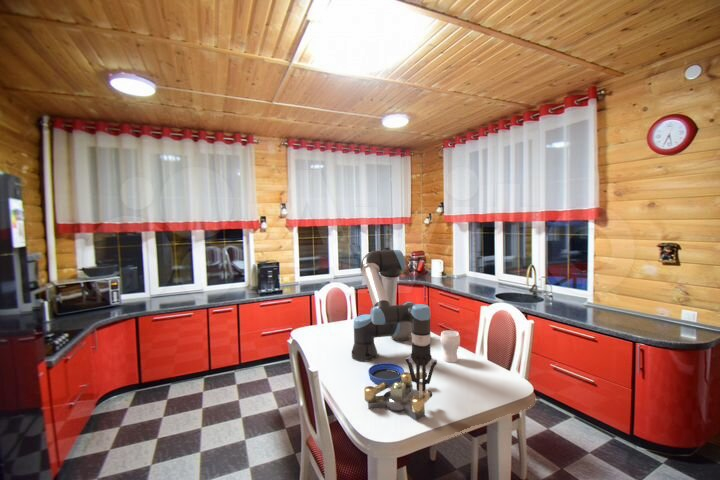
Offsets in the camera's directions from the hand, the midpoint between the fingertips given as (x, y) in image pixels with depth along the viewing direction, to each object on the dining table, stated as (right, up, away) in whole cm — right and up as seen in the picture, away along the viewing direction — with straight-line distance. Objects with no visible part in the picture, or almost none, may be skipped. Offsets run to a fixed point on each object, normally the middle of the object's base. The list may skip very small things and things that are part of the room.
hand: (421, 398), depth 131 cm
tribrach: (-8, -4, +6) cm, 11 cm away
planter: (+1, 0, +81) cm, 81 cm away
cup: (+25, -1, +45) cm, 52 cm away
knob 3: (-18, -2, +6) cm, 19 cm away
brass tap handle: (0, -1, +16) cm, 16 cm away
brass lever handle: (0, -1, -3) cm, 3 cm away
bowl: (-12, -4, +28) cm, 30 cm away
